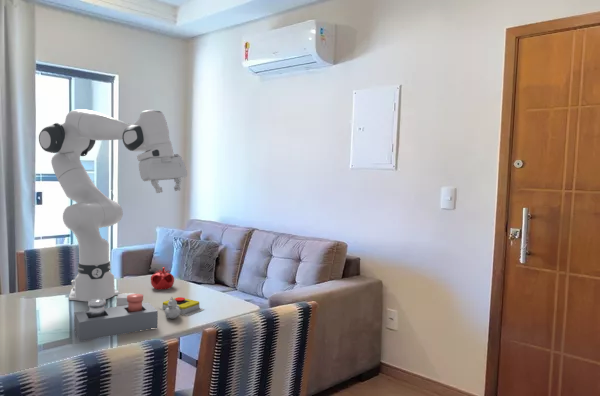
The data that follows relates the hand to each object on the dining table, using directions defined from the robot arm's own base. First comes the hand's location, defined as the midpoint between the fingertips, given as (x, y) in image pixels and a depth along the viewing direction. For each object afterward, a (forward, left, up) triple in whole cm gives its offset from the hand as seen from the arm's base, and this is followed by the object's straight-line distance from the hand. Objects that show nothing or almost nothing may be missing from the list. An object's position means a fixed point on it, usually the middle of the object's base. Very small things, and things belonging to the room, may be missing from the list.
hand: (168, 191), depth 169 cm
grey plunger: (+6, -25, -40) cm, 47 cm away
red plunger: (+6, -13, -40) cm, 42 cm away
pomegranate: (-37, +9, -46) cm, 59 cm away
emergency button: (-5, +7, -46) cm, 47 cm away
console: (+6, -19, -45) cm, 49 cm away
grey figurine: (+3, +1, -45) cm, 46 cm away
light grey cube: (-12, -12, -46) cm, 49 cm away
